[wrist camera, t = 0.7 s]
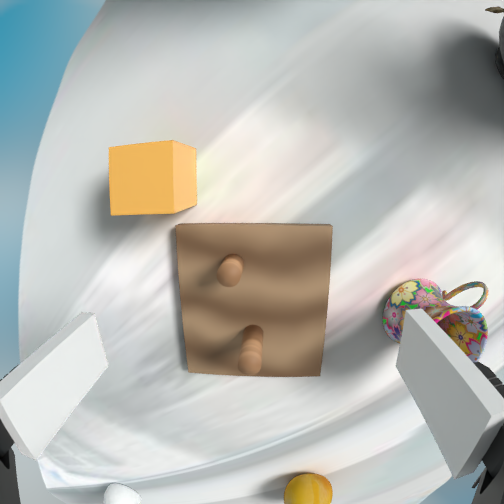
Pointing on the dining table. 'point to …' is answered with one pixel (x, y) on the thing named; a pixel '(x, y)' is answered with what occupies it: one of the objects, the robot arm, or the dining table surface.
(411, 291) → the mug
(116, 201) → the mustard yellow box
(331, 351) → the dining table surface
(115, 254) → the dining table surface
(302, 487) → the fruit
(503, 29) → the pitcher
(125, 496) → the bottle
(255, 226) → the board
